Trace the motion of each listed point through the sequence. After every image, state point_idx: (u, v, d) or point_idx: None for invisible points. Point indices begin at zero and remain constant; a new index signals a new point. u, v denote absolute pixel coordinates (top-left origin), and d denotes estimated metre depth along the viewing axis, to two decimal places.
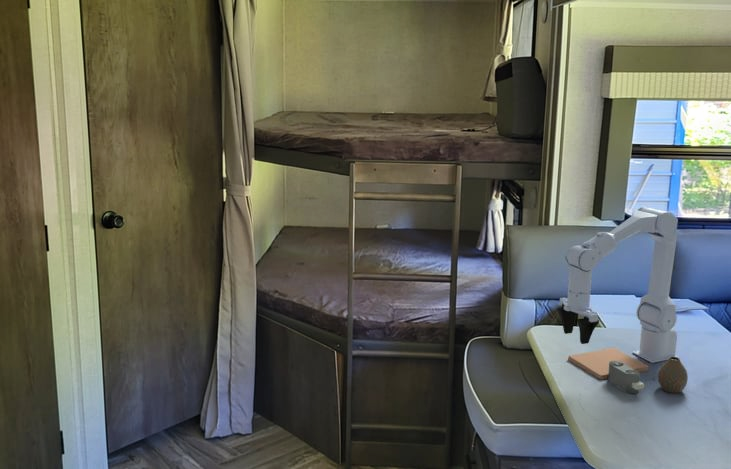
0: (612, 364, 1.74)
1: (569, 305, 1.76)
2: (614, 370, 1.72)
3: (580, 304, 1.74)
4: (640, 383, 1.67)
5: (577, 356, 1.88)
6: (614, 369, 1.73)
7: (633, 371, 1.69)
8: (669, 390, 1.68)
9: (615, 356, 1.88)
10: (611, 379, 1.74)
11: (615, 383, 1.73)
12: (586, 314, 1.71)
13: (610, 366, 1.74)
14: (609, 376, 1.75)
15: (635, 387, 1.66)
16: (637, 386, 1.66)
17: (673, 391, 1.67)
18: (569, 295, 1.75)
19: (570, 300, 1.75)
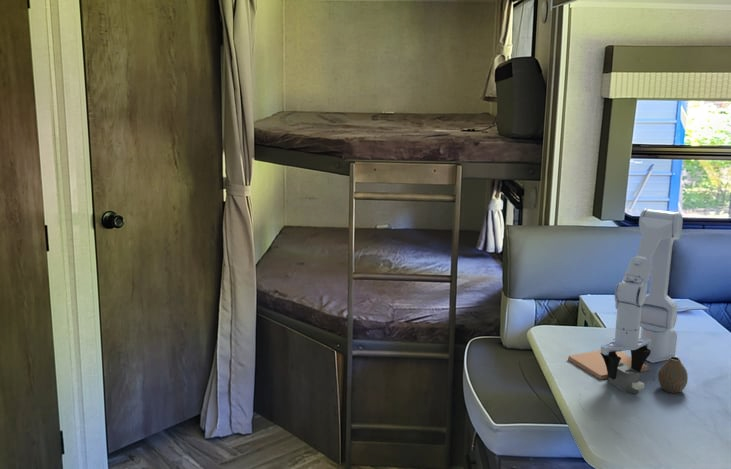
0: None
1: None
2: None
3: (615, 337, 1.70)
4: (640, 383, 1.67)
5: (577, 356, 1.88)
6: None
7: (633, 371, 1.69)
8: (669, 390, 1.68)
9: None
10: (611, 379, 1.74)
11: (615, 383, 1.73)
12: None
13: None
14: None
15: (635, 387, 1.66)
16: (637, 386, 1.66)
17: (673, 391, 1.67)
18: None
19: None
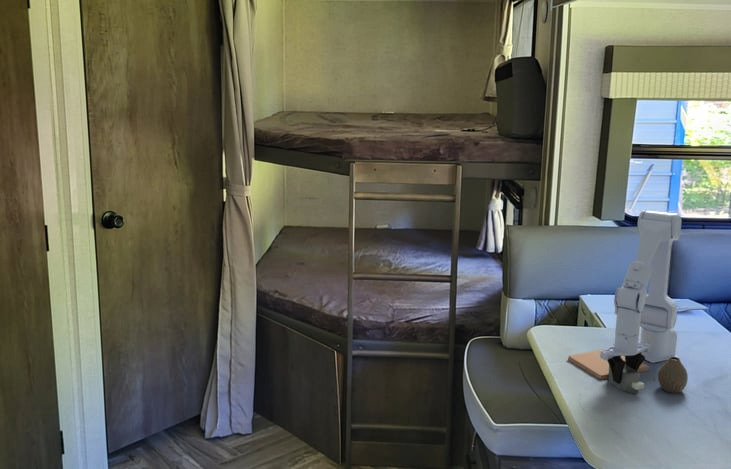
0: None
1: None
2: None
3: (615, 342, 1.70)
4: (640, 383, 1.67)
5: (577, 356, 1.88)
6: None
7: (633, 371, 1.69)
8: (669, 390, 1.68)
9: None
10: (611, 379, 1.74)
11: (615, 383, 1.73)
12: None
13: None
14: (609, 376, 1.75)
15: (635, 387, 1.66)
16: (637, 386, 1.66)
17: (673, 391, 1.67)
18: None
19: None
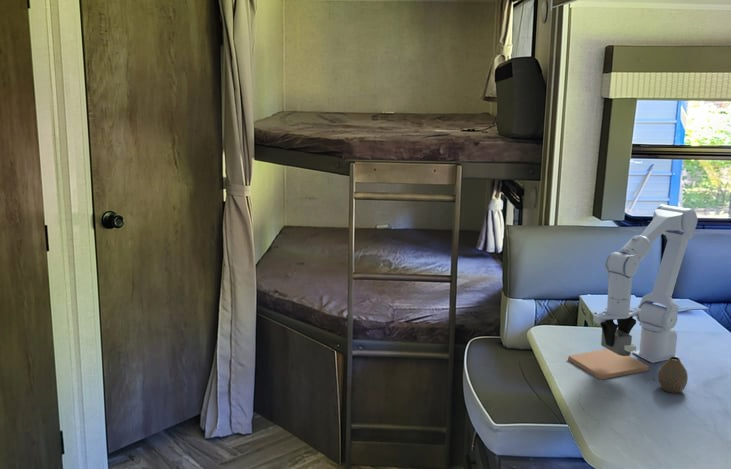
0: None
1: None
2: None
3: (607, 307, 1.76)
4: (632, 345, 1.73)
5: (577, 356, 1.88)
6: None
7: (625, 334, 1.76)
8: (669, 390, 1.68)
9: (615, 356, 1.88)
10: (604, 344, 1.80)
11: (608, 347, 1.79)
12: None
13: None
14: (602, 340, 1.81)
15: (627, 349, 1.73)
16: (629, 348, 1.72)
17: (673, 391, 1.67)
18: None
19: None
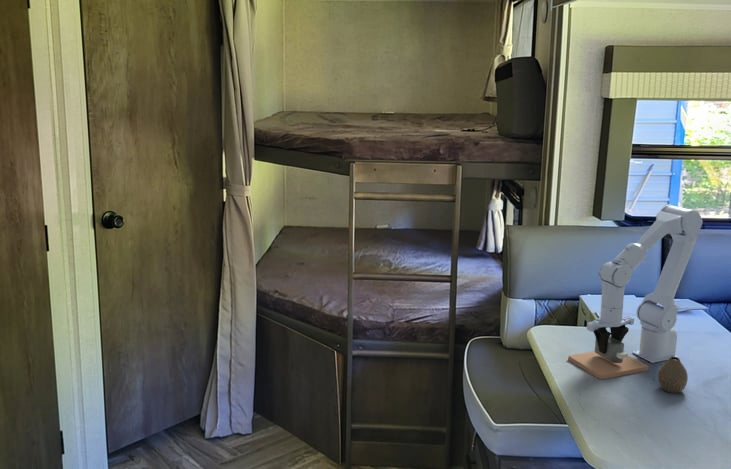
0: None
1: None
2: None
3: (600, 315, 1.82)
4: (624, 353, 1.79)
5: (577, 356, 1.88)
6: None
7: (618, 342, 1.81)
8: (669, 390, 1.68)
9: None
10: (597, 351, 1.86)
11: (601, 354, 1.84)
12: None
13: None
14: (596, 347, 1.87)
15: (619, 356, 1.78)
16: (621, 355, 1.78)
17: (673, 391, 1.67)
18: None
19: None
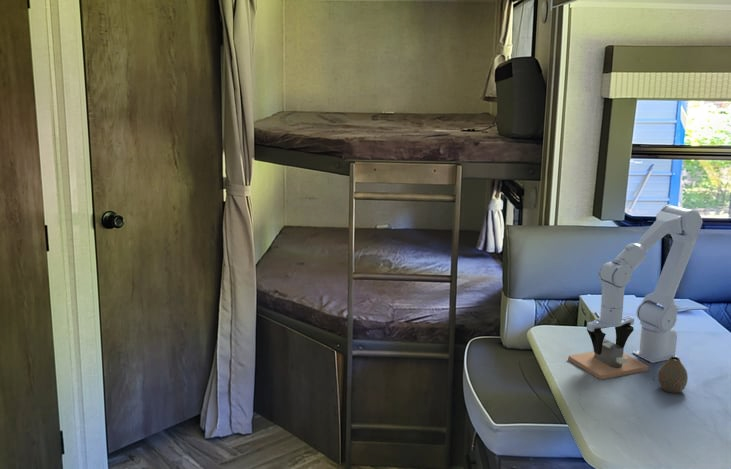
0: None
1: None
2: None
3: (600, 315, 1.82)
4: (623, 358, 1.79)
5: (577, 356, 1.88)
6: None
7: (617, 347, 1.82)
8: (669, 390, 1.68)
9: None
10: (597, 355, 1.86)
11: (601, 358, 1.85)
12: None
13: None
14: None
15: (619, 361, 1.79)
16: (621, 360, 1.78)
17: (673, 391, 1.67)
18: None
19: None
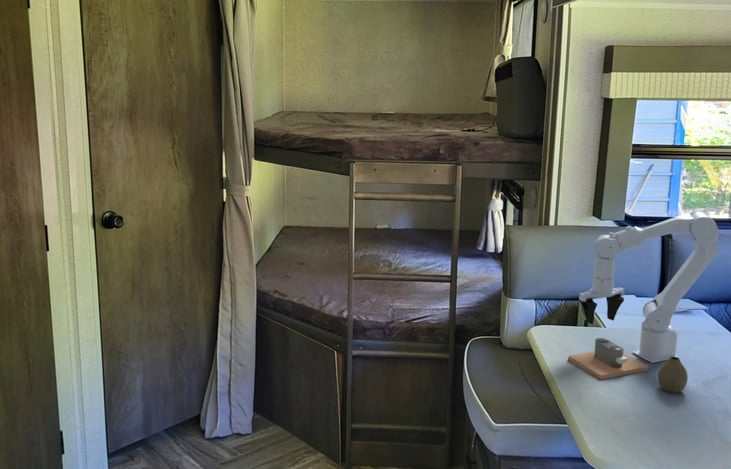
0: (598, 341, 1.86)
1: None
2: (600, 346, 1.85)
3: (592, 286, 1.90)
4: (623, 358, 1.79)
5: (577, 356, 1.88)
6: (599, 346, 1.85)
7: (617, 347, 1.82)
8: (669, 390, 1.68)
9: None
10: (597, 355, 1.86)
11: (601, 358, 1.85)
12: None
13: (596, 343, 1.86)
14: (595, 352, 1.87)
15: (619, 361, 1.79)
16: (621, 360, 1.78)
17: (673, 391, 1.67)
18: None
19: None
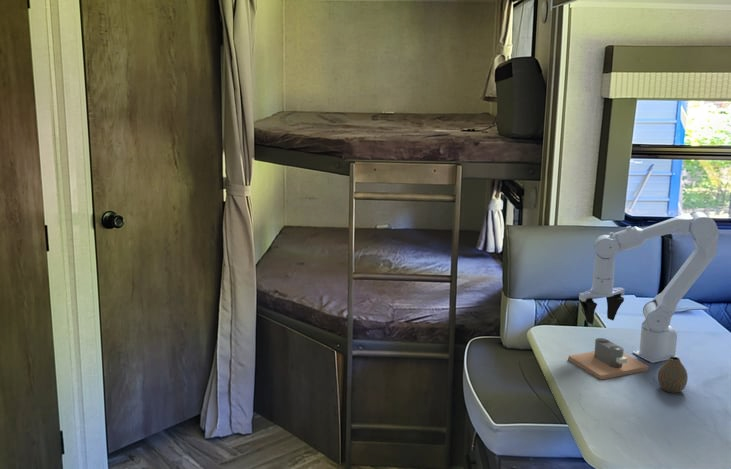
0: (598, 341, 1.86)
1: None
2: (600, 346, 1.85)
3: (592, 286, 1.91)
4: (623, 358, 1.79)
5: (577, 356, 1.88)
6: (599, 346, 1.85)
7: (617, 347, 1.82)
8: (669, 390, 1.68)
9: None
10: (597, 355, 1.86)
11: (601, 358, 1.85)
12: None
13: (596, 343, 1.86)
14: (595, 352, 1.87)
15: (619, 361, 1.79)
16: (621, 360, 1.78)
17: (673, 391, 1.67)
18: None
19: None
